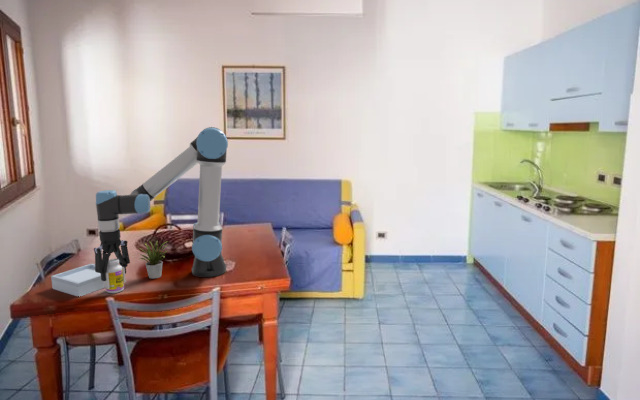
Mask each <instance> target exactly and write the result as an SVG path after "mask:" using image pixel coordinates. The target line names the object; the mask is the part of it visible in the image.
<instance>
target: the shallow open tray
mask: <svg viewBox="0 0 640 400" xmlns="http://www.w3.org/2000/svg"><path fill="white" fill-rule="evenodd" d="M50 279H51V285H52V289H53V290H54V291H58V292H62V293H65V294H68V295H72V296H74V297H78V296H79V297H78V298H80V296H81V297H82V296H85V295H88V294H91V293H94V292H96V291H99V290H102V289H105V288H104V285H103V281H102V280H101V273H97V272H95V263H89V264H86V265H82V266H78V267H75V268H72V269H68V270H65V271H63V272H60V273H56V274H52V275H50Z"/></svg>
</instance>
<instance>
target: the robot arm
mask: <svg viewBox="0 0 640 400" xmlns="http://www.w3.org/2000/svg"><path fill="white" fill-rule="evenodd" d="M228 142H229V141H228V138H227V136H226V134H225V133H224V132H223V130H222V129H219V128H218V127H212V126H210V127H209V126H208V127H205V128H203V130H201V131H200V132H199V133H198V135H197V137H196V138H195V139H194V140H193V141H191V142H190V143H189V147H187V148H186V149H185V150H184V151H182V152H181V153H180V154H178V155H177V156H175V158H174V159H172V160H171V161H170V162H169V163H167V164H166V165H165V166H164V167H162V168H161V169H160V170H158V171H156V173H154V174H153V175H152V176H151V177H149V178H148V179H147V180H146V181H145V182H143V183H142V184H141V185H139V186H138V187H137V188H135V189H134V190H133V191H131V193H130V194H125V195H118V194H117V191H116V190H115V189H112V190H111V189H108V190H107V189H106V190H100V191H97V192H96V193H95V208H96V215H97V224H98V230H99V232H98V234H99V235H98V236H99V240H100V244H99V246H98V247H94V248H93V252H94V264H95V272H97V273H101V280H102V281H103V285H104V288H103V289H106V288H107V289H109V288H110V285H109V275H108V272H106V271H107V266H108V261H109V259H110V257H111V256H112V255H111V254H112V253H114V255H115V258H116V259H119V265H121V266H122V269H123V281H124V284H125V283H126V281H127V280H126V274H127V267H128V264H131V259H130V255H129V249H128V241H127V240H125V239H121V230H120V218H119V215H132V214H133V215H134V214H135V215H136V214H139V215H142V214H146V213H149V212H150V211H151V201H153V199H155V198H156V197H157V196H158V195H160V194H162V192H164V191H165V190H167V189H168V187H170V186H171V185H173V184H174V183H175V182H176V181H178V180H179V179H180V178H182V176H184V175H185V174H186V173H188V172H189V171H191V170H192V169H193V168H194V167H195V166H197V165H198V164H199V180H198V181H199V182H198V208H197V222H194V223H193V224H192V225H193V226H192V227H193V228H192V230H193V233H192V244H191V252H192V254H193V255H194V258H193V264H192V267H191V274H192V275H193V276H195V277H197V278H198V277H200V278H213V277H218V276H221V275H223V274H225V273H226V272H227V270H226V269H227V264H226V262H225V259H224V257H223V253H222V252H223V251H222V250H223V245H222V242H223V241H222V240H223V225H221V223H220V212H221V211H220V210H221V209H220V208H221V193H222V192H221V190H222V171H223V166H224V165H225V164H226V163H227V149H228V145H229V143H228ZM225 271H226V272H225ZM224 272H225V273H224Z"/></svg>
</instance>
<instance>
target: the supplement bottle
mask: <svg viewBox="0 0 640 400" xmlns="http://www.w3.org/2000/svg"><path fill="white" fill-rule="evenodd" d="M106 272H108V275H109V285H110V288H109V289H107V288H105V290H106V292H107V293H109V294H116V293H117V294H118V293H120V292H122V291H124V289H125V283H124V281H123V269H122V266H121V265H120V264H119V259H117V258H109V261H108V266H107V271H106Z"/></svg>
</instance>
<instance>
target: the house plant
mask: <svg viewBox="0 0 640 400" xmlns="http://www.w3.org/2000/svg"><path fill="white" fill-rule="evenodd" d="M158 242H159V241H158V240H156V241H155V245H153V243H152V242H151V241H150V240H149V244H150V245H151V246H150V245H149V244H147V243H146V242H144V245H145V247H146V249H144V250H143V249H142V248H140V247H137V246H136V248H138V249H140V250H141V251H143V252H144V253H145V254H146V255H144V254H141V253H140V254H139V255H140V256H141V258H139V260H143V261H146V262H145V267H146V271H147V274H148V278H149V279H159V278H162V274H163V273H162V271H163V263H164V262H163V261H162V260H164V259H166V255H165V254H166V253H167V252H168V250H166V251H164V252H163V250H164V249H165V248H166V247H168V246H169V245H167V244H166V243H168V242H169V241H168V240H167V241H164V242H163V243H162V244H160V246H159V243H158ZM165 244H166V245H165ZM162 257H163V258H162Z"/></svg>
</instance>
